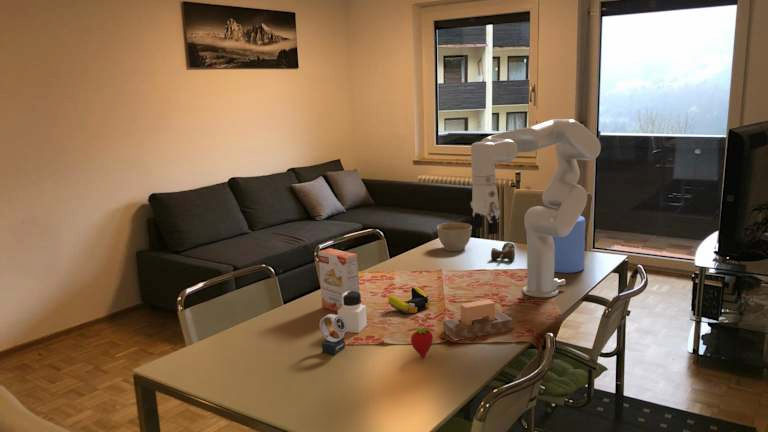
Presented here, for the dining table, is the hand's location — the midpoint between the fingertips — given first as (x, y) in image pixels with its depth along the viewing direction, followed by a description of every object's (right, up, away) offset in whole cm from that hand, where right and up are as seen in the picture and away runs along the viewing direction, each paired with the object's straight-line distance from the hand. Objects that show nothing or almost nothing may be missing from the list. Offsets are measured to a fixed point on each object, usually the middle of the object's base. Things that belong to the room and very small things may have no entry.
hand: (485, 230), depth 205 cm
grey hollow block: (-4, -31, -12) cm, 34 cm away
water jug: (+40, -16, +47) cm, 64 cm away
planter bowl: (-1, -11, +83) cm, 84 cm away
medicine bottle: (-44, -31, -6) cm, 54 cm away
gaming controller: (-24, -27, +10) cm, 38 cm away
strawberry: (-23, -35, -29) cm, 51 cm away
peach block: (-4, -31, -12) cm, 34 cm away
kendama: (+19, -14, +65) cm, 69 cm away
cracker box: (-49, -28, +11) cm, 57 cm away
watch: (-48, -35, -22) cm, 64 cm away
